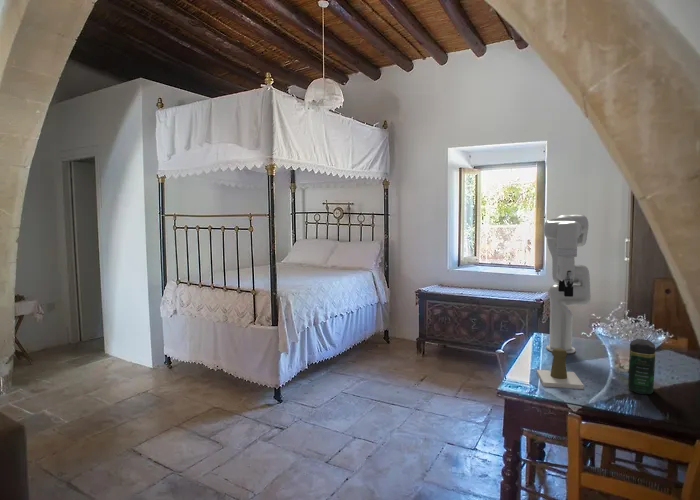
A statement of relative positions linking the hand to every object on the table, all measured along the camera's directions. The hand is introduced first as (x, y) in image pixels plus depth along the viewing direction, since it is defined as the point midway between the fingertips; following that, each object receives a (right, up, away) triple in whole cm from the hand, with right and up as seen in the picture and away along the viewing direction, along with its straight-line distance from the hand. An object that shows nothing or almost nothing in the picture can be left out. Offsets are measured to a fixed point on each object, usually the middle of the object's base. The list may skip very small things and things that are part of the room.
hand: (565, 293), depth 182 cm
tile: (-7, -33, -9) cm, 35 cm away
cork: (-7, -32, -9) cm, 34 cm away
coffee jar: (+18, -34, -19) cm, 43 cm away
